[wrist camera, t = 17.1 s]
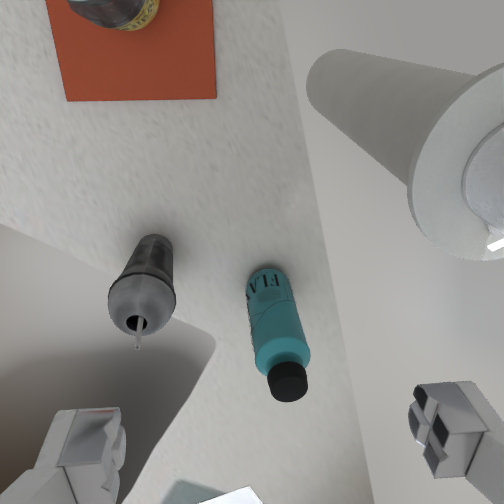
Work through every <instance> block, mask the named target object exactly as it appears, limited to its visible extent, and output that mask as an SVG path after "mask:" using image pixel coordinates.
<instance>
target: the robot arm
mask: <svg viewBox="0 0 504 504" xmlns="http://www.w3.org/2000/svg"><path fill="white" fill-rule="evenodd" d="M462 194H463V198H464V201H465V203H466V205H467V206H468V208H469V209H470V210H471V211H472V212H473V213H474V214H475V215H477V216H478V217H480V218H481V219H482V220H483V221H484V224H485V227H486V229H487V231H488V232H489V233H490V234H491V235H493V236H495V237H501V236H504V123H503V124H502V125H500V126H498V127H497V128H496V129H494V130H493V131H492V132H490V133H489V134H488V135H487V136H486V137H485V138H484V139H483V140H482V141H481V142H480V143H479V144H478V146H477V147H476V148H475V150H474V151H473V153H472V154H471V156H470V158H469V160H468V162H467V164H466V167H465V170H464V173H463V178H462ZM503 246H504V239H502V240H500V241H498V242H496V243H493V244H491V245H489V246H488V248H489V249H490V250H491V251H494V250H496V249H498V248H500V247H503ZM413 395H414V397H415V399H416V401H414V402H413V403H412V404H411V405H410V408H409V413H408V417H409V425H410V429H411V432H412V434H413V436H414V438H415V440H416V441H417V442H418V443H420V444H421V445H422V446H424V447H425V448H424V453H423V457H424V459H425V461H426V463H427V465H428V467H429V469H430V470H431V473H432V475H433V477H434V478H451V477H466V479H467V480H468V481H469V482H470V483H471V484H472V485H473V486H474V487H476V488H477V489H478V490H479V491H480V492H481V493H482V494H483V495H484V496H485V497H486V498H488V499H489V500H490V501H491V502H492V503H493V504H504V422H503V421H502V420H501V418H500V417H499V415H498V414H497V413H496V411H495V410H494V409H493V407H492V406H491V405H490V403H489V402H488V401H487V399H486V398H485V397H484V395H483V394H482V392H481V391H480V390H479V388H478V387H477V386H476V384H475V383H473V382H472V381H461V382H460V381H459V382H443V383H432V384H420V385H417V386H416V387H415V389H414V392H413ZM120 420H121V413H120V410H119V408H117V407H114V408H93V409H76V410H60V411H59V412H58V413H57V414H56V415H55V416H54V418H53V421H52V424H51V426H50V428H49V431H48V434H47V436H46V439H45V441H44V443H43V446H42V448H41V451H40V453H39V456H38V458H37V461H36V464H35V466H34V468H33V469H31V470H26V471H25V472H24V473H23V474H22V475H21V476H20V477H19V478H18V479H17V480H16V481H15V482H14V483H13V484H11V485H10V486H9V487H8V488H7V489H6V490H5V491H4V492H3V493H2V494H1V495H0V504H116V499H117V494H118V489H119V484H120V479H119V476H118V472H117V471H118V470H119V469H120V468H121V467H122V466H123V464H124V458H125V451H126V436H125V430H124V427H123V426H121V425H120Z"/></svg>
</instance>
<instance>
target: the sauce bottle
mask: <svg viewBox="0 0 504 504" xmlns="http://www.w3.org/2000/svg"><path fill="white" fill-rule="evenodd" d="M66 1H67V2H68V3H69V7H70V8H71V10H72V11H74V12H75V13H77V14H78V15H80V16H82V17H84V18H85V19H87V20H89V21H90V22H92V23H93V24H95V25H97V26H100V27H104V28H108V29H116V30H125V31H134V30H138V29H141V28H143V27H145V26H146V25H148V24H149V23H150V22H151V21H152V20H153V18H154V17H155V15H156V13H157V10H158V7H159V2H160V0H66Z"/></svg>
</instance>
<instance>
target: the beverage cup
mask: <svg viewBox="0 0 504 504" xmlns="http://www.w3.org/2000/svg"><path fill="white" fill-rule="evenodd" d="M175 306H176V294H175V292H174V286H173V253H172V246H171V244H170V242H169V241H168V240H167V239H166V238H165V237H163V236H160V235H157V234H154V235H148V236H145V237H144V238H143V239H141V241H140V242H139V244H138V245H137V247H136V248H135V250H134V252H133V254H132V256H131V258H130V259H129V261H128V263H127V265H126V267H125V269H124V271H123V272H122V274H121V275H120V276H119V277H118V279H117V280H116V281H115V282H114V283H113V284H112V286H111V287H110V290H109V294H108V309H109V314H110V317H111V319H112V320H113V322H114V324H115V325H116V326H117V327H118V328H119V329H120V330H122V331H123V332H125V333H127V334H129V335H134V336H136V340H135V347H134V348H135V350H139V349H140V344H141V336H146V335H150V334H153V333H155V332H156V331H158V330H159V329H161V328H163V327H164V325H165V324H166V323H167V322H168V321H169V319H170V318H171V316H172V313H173V312H174V309H175Z"/></svg>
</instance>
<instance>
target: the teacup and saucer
mask: <svg viewBox="0 0 504 504" xmlns="http://www.w3.org/2000/svg"><path fill="white" fill-rule="evenodd" d="M199 504H263V503H262V501H261V500H260V499H259V498H258V497H257V495H256V494H255V493H254V492H253V490H252V489H251V488H250V487H249V486H247V487H244V488H241V489H239V490H236V491H233V492H230V493H227V494H224V495H222V496H219V497H216V498H213V499H210V500H207V501H205V502H202V503H199Z"/></svg>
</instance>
